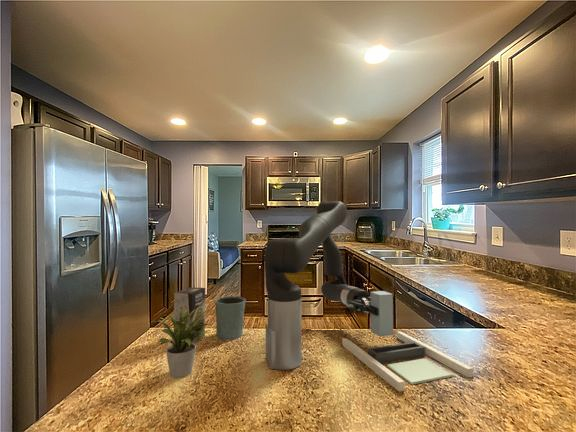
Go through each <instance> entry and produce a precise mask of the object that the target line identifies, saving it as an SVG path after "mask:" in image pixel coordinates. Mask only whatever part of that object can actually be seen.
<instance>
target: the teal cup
mask: <svg viewBox="0 0 576 432" xmlns="http://www.w3.org/2000/svg"><path fill="white" fill-rule="evenodd" d="M214 302H215V303H214V306H215V316H216V317H215V322H216V326H215V327H216V328H215V331H216V335H215V336H216V337H217V339H218V340H220V341H221V340H222V341H232V340H237V339H240V338H241V337H242V335H243V331H244V325H243V324H244V319H245V317H244V314H245V307H246V298H244V297H243V296H242V297H241V296H234V295H233V296H231V295H230V296H228V295H227V296H222V297H218V298H216V299H215V300H214Z"/></svg>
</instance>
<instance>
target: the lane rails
mask: <svg viewBox="0 0 576 432" xmlns="http://www.w3.org/2000/svg"><path fill="white" fill-rule="evenodd" d="M396 339H398V340H399V341H401V342H404V343H410V342H416V343H418V344H420V345H422V346H424V347H425V355H427V356H429V357H430V358H432V359H434V360H436V361H438V362H439V363H441V364H443V365H444V366H447V367H448V368H450V369H452V370H454V371H456V372H457V373H459V374H461V375H463V376H465V377H467V378H472V377H473V376H474V375H473V372H474V371H473V367H471V366H469V365H467V364H465V363H463V362H461V361H460V360H457V359H455V358H453V357H451V356H449V355H448V354H446V353H443V352H442V351H440V350H439V349H436V348H434V347H432V346H430V345H428V344H427V343H425V342H423V341H420V340H418V339H416V338H415V337H412V336H410V335H409V334H407V333H404V331H397V332H396ZM342 346H343V347H344V348H345V349H346V350H348V351H349V352H350V353H351V354H352V355H354V356H355V357H356V358H357V359H358V360H360V361H361V362H362V363H363V364H365V365H366V366H367V367H369V368H370V369H371V370H372V371H373V372H374V373H376V375H378V376H379V377H380V378H382V380H384V381H385V382H387V383H388V384H389V385H390V386H391V387H393V388H394V389H395V390H397V392H404V391H406V386H405V381H406V380H403V378H402V377H399V375H398V374H396V373H395V372H394V371H392V370H391V369H390V368H389V369H388V367H386V366H384V365H383V363H379V362H378V361H377V360H375V359H374V358H373V357H371V356H370V355H368V352H366V351H364V350H363V349H362V348H360V347H359V346H358V345H356V344H355V343H354V342H353V341H351V340H350V339H348V338H342Z"/></svg>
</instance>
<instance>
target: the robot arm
mask: <svg viewBox="0 0 576 432" xmlns="http://www.w3.org/2000/svg"><path fill="white" fill-rule="evenodd" d="M347 215H348V209H347V206H346V204H345V203H344V202H342V201H340V200H339V201H338V200H336V201H321V202H319V203H318V205H317V209H316V213H315V214H313V215H312V216H310V217H308V218H307V219H306V220H304V221H303V222H302V223H301V224H300V226H299V229H298V237H299V238H273V239H270V240H269V241H268V242H267V244H266V246H265V249H264V274H265V277H264V278H265V280H264V281H265V290H266V293H267V323H266V324H265V361H266V363H267V365H268V367H269V369H270V370H280V371H281V370H283V371H286V370H293V369H296V368H298V367H299V366H301V364H302V356H303V355H302V354H303V352H302V288H301V287H300V286H299V285H297V284H296V283H294V282H292V281H291V280H289V278H288V277H287V276H286V274H299V273H301V272H302V271H303V270H304V269H305V268H306V266H307V265H308V263H309V262H310V260H311V259H312V257H313V255H314V254H315V252H316V251H317V250H318V248H320V246H321V245H322V249H323V260H324V261H323V263H324V273H325V274H326V275H327V276H328V277H335V279H333V280H328V281H324V282H323V283H322V285H321V289H320V290H321V294H322V296H323V297H324V298H325V299H326V300H328V301H333V302H340V303H342V304H344V305H345V306H346V307H348V309H349V310H352V311H355V312H357V313H360V314H364V313H366V314H370V315H371V314H373V315H375V316H378V315H379V310H378V308H376V307H374V306H372V305H371V293H369V292H368V291H366V290H364V289H362V288H359V287H356V286H352V285H349V284H347V281H346V278H345V275H344V272H343V261H342V260H343V258H342V253H341V251H340V248H339V247H338V245H337V243H336V242H335V241H334V239H333V237H332V235H331V233H333V232H334V231H335V229H337V228H338V227H339V226H341V225H342V224H344V222H345V221H346V219H347ZM394 309H395V307H393V314H394V313H395V310H394Z"/></svg>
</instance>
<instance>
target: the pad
mask: <svg viewBox="0 0 576 432" xmlns="http://www.w3.org/2000/svg"><path fill="white" fill-rule="evenodd" d="M386 366H387V367H386V368H389V370H390V371H392V372H393V373H394V374H396V375H397V376H398V377H399V376H400V378H401V379H404V381H406V382H408V383H409V385H410V384H411V385H417V384H422V383H427V382H432V381H437V380H442V379H447V378H452V377H453V374H452V373H451V372H449V371H447V370H445V369H444V368H442V367H440V366H438V365H437V364H435V363H434V362H431V361H430V360H428V359H427V358H419V359H412V360H407V361H401V362H400V361H399V362H395V363H389V364H386Z"/></svg>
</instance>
